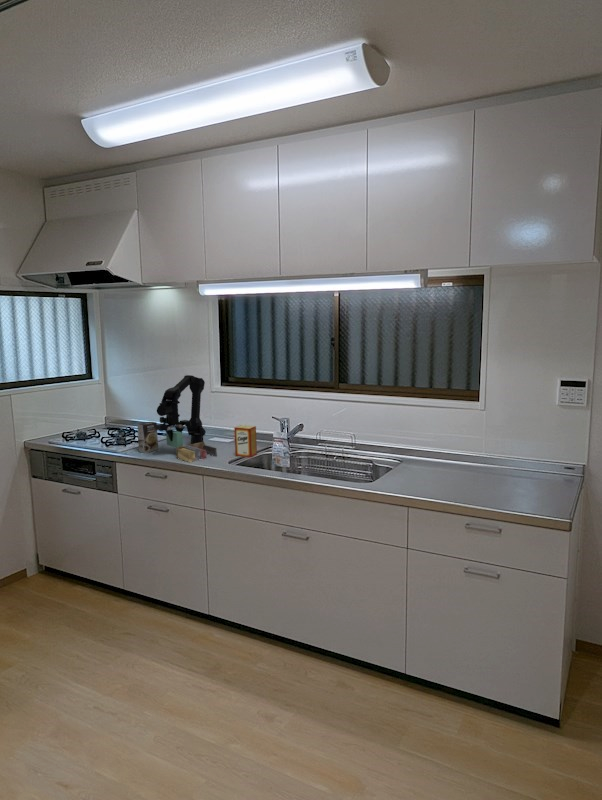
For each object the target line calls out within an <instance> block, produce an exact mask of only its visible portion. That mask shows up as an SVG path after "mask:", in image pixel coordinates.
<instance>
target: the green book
mask: <svg viewBox="0 0 602 800" xmlns="http://www.w3.org/2000/svg"><path fill="white" fill-rule="evenodd" d="M172 430H173V440H172V441H170V438H169V436H168V434H167V432H166V431H165V435H166V445H167V446H169V447H173V448H176V447H181V446H184V439H183V431H182V432H178V431H176V429H175V430H174V429H172Z"/></svg>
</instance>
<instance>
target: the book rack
mask: <svg viewBox="0 0 602 800" xmlns="http://www.w3.org/2000/svg"><path fill="white" fill-rule="evenodd" d="M204 444H205V441H203V442H200V443H195V444H191V443H190V444H187V445H183V446H181V447H175V449H176V451H175V452H176V459H177V458H179V459H178V460H180V459H182V460H181V461H183V460H185V461H184V462H186V461H188V462H187V463H189V462H190V463H193V462H192V461H194V462H196V461H195V460H198V461H200V460H199V459H203V460H205V459H204V458H208V457H207V455H208V454H210V455H209V456H212V455H213V456H212V457H217V456H218V453H217V447H214V446H210V445H206V444H205V445H204ZM206 453H207V454H206Z"/></svg>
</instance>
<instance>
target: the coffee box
mask: <svg viewBox="0 0 602 800" xmlns="http://www.w3.org/2000/svg"><path fill="white" fill-rule="evenodd" d="M157 425H158V423H157V421H156V422H155V421H147V422H141V423H137V440H138V441H137V442H138V452H139V453H143V454H148V453H152V452H155V451H159V439H158V436H159V435H158V430H156V426H157ZM151 451H152V452H151Z"/></svg>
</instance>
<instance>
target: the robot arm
mask: <svg viewBox="0 0 602 800" xmlns="http://www.w3.org/2000/svg"><path fill="white" fill-rule="evenodd" d="M205 384H206V382H205V380H204V379H203V378H201V377H196V376H194V375H189V374H187V375H184V376H183V378H182V379H181V380H180V381H179V382H178V383H177V384H175V386H173V387H170V388H168V389H166V390H165V391H164V394H163V396H162V399H161V401H160V403H159V405H158V406H157V408H156V414H157V415H159V423H160V424H158V423H157V426H156V430H157V431H159V432H165V433H166V432H167V434H168V436H169V438H170V441H172V440H173V430H174V429H172V428H175V431H178V432H182V433H183V431H184V429H185V428H186V429H185V430H187V434H188V436H190V444H195V443H200V442H204V436H205V435H206V431H207V430H206V429H205V428H204V427H203V422H202V420H201V418H200V416H201V396H202V393H203V391H204V389H205ZM188 386H189V389H190V392H191V405H190V406H191V408H190V409H191V410H190V419H189V420H188V419H182V420H180V418H179V417H180V416H181V415H180V414H179V406H178V405H179V404H180V401H179V399H180V397H181V396H182V392H183V391H184V390H185V389H187V387H188ZM204 445H206V444H205V443H204Z"/></svg>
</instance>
